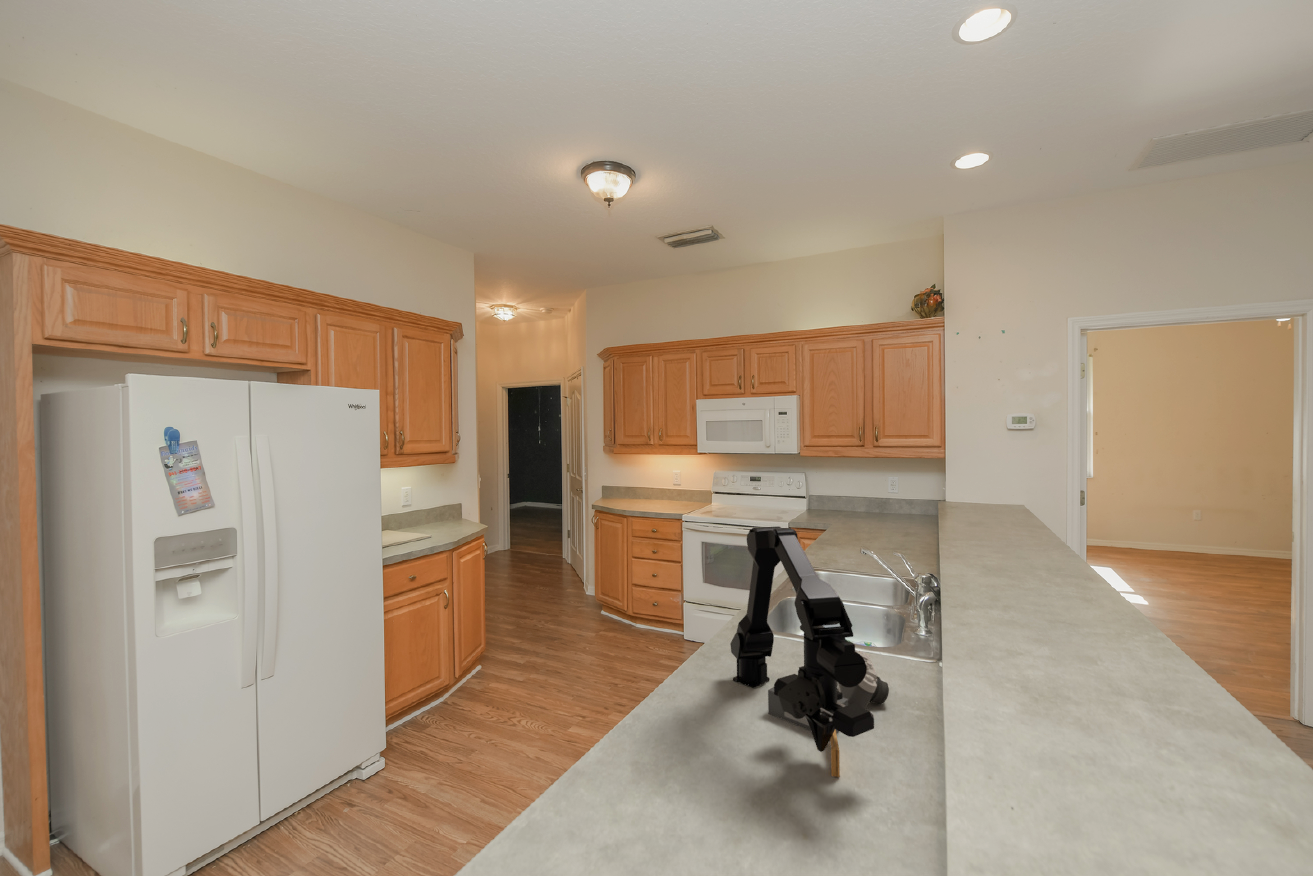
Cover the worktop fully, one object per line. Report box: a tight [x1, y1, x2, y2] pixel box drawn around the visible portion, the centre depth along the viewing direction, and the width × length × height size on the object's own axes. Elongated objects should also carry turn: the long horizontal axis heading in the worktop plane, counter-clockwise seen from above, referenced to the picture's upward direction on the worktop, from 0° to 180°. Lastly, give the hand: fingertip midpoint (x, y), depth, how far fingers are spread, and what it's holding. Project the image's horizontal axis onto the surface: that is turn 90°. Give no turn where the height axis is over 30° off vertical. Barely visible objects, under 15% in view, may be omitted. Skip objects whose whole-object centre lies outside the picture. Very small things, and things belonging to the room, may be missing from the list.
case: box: [767, 686, 848, 734], centre depth 115 cm, size 15×9×5 cm, turn 45°
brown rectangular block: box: [829, 729, 841, 778], centre depth 101 cm, size 11×1×5 cm, turn 168°
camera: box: [837, 649, 890, 710], centre depth 122 cm, size 9×16×10 cm, turn 169°
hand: (821, 750), depth 100 cm, fingers closed
